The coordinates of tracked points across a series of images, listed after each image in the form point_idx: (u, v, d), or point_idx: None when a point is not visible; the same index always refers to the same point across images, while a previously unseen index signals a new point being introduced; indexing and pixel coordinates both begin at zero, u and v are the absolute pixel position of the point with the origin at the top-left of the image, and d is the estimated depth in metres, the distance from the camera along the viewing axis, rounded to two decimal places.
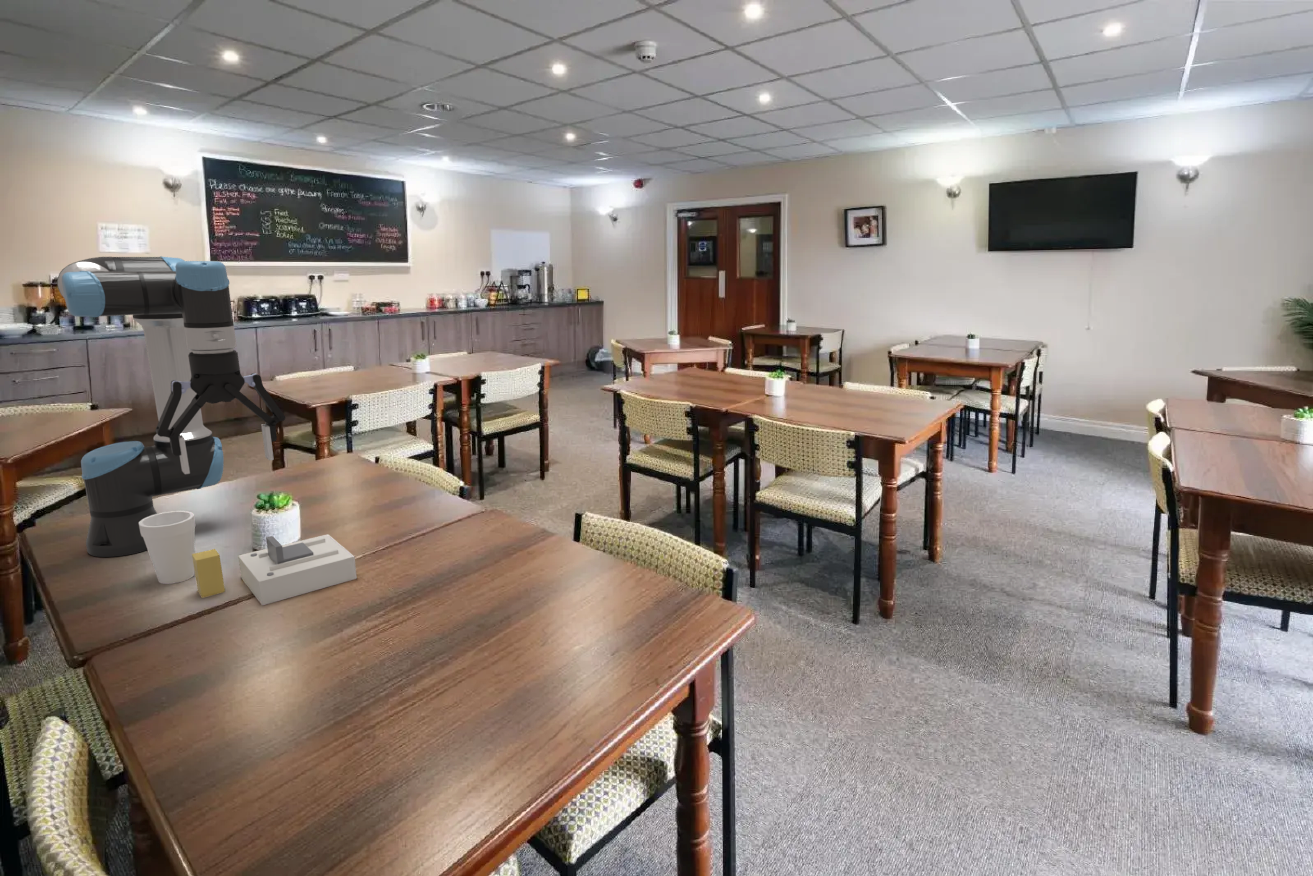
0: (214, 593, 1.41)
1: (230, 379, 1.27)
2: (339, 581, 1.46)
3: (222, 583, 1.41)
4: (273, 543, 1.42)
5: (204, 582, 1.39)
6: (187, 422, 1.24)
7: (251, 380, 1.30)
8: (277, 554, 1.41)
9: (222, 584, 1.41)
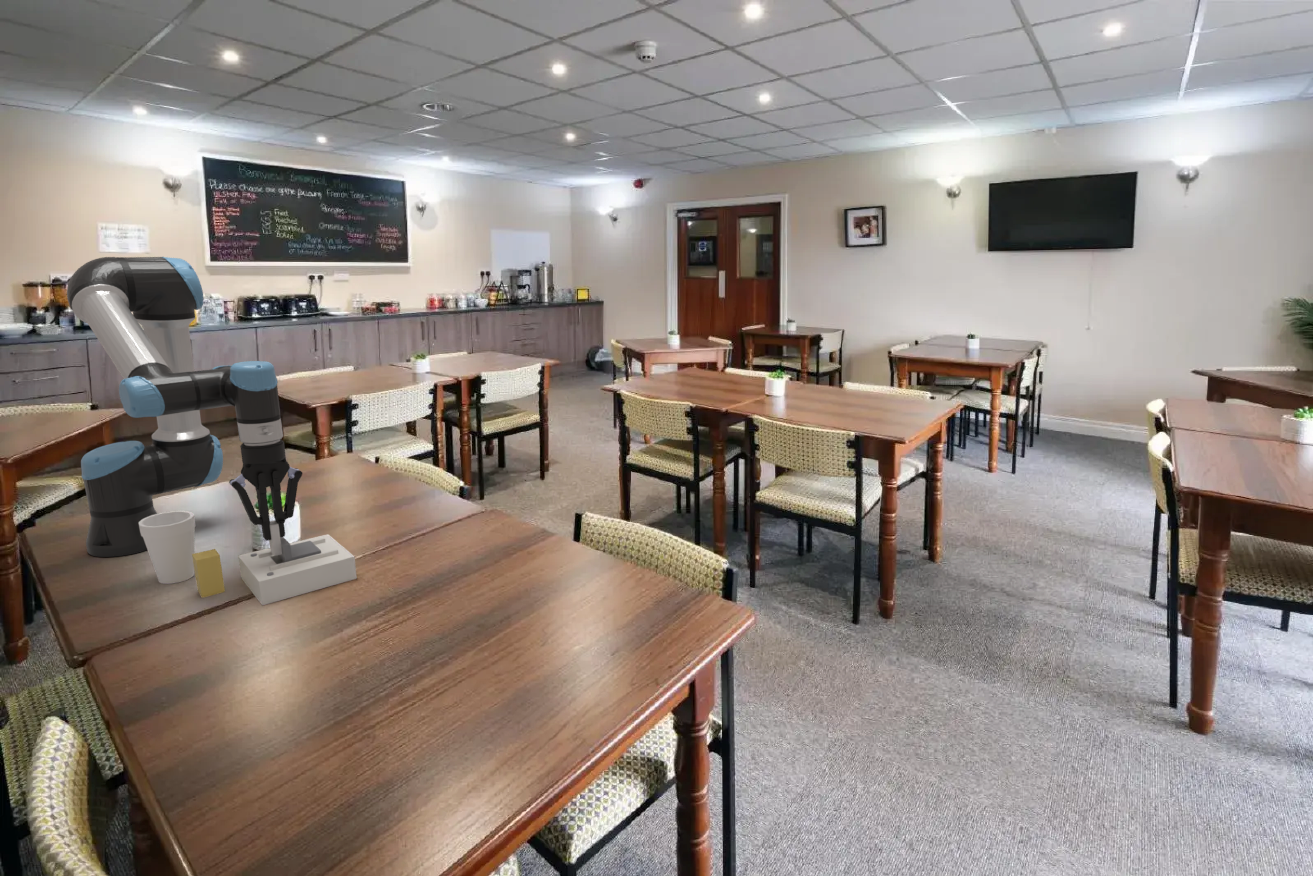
0: (214, 593, 1.41)
1: (280, 462, 1.40)
2: (339, 581, 1.46)
3: (222, 583, 1.41)
4: (281, 541, 1.43)
5: (204, 582, 1.39)
6: (266, 509, 1.40)
7: (293, 473, 1.43)
8: (285, 552, 1.42)
9: (222, 584, 1.41)
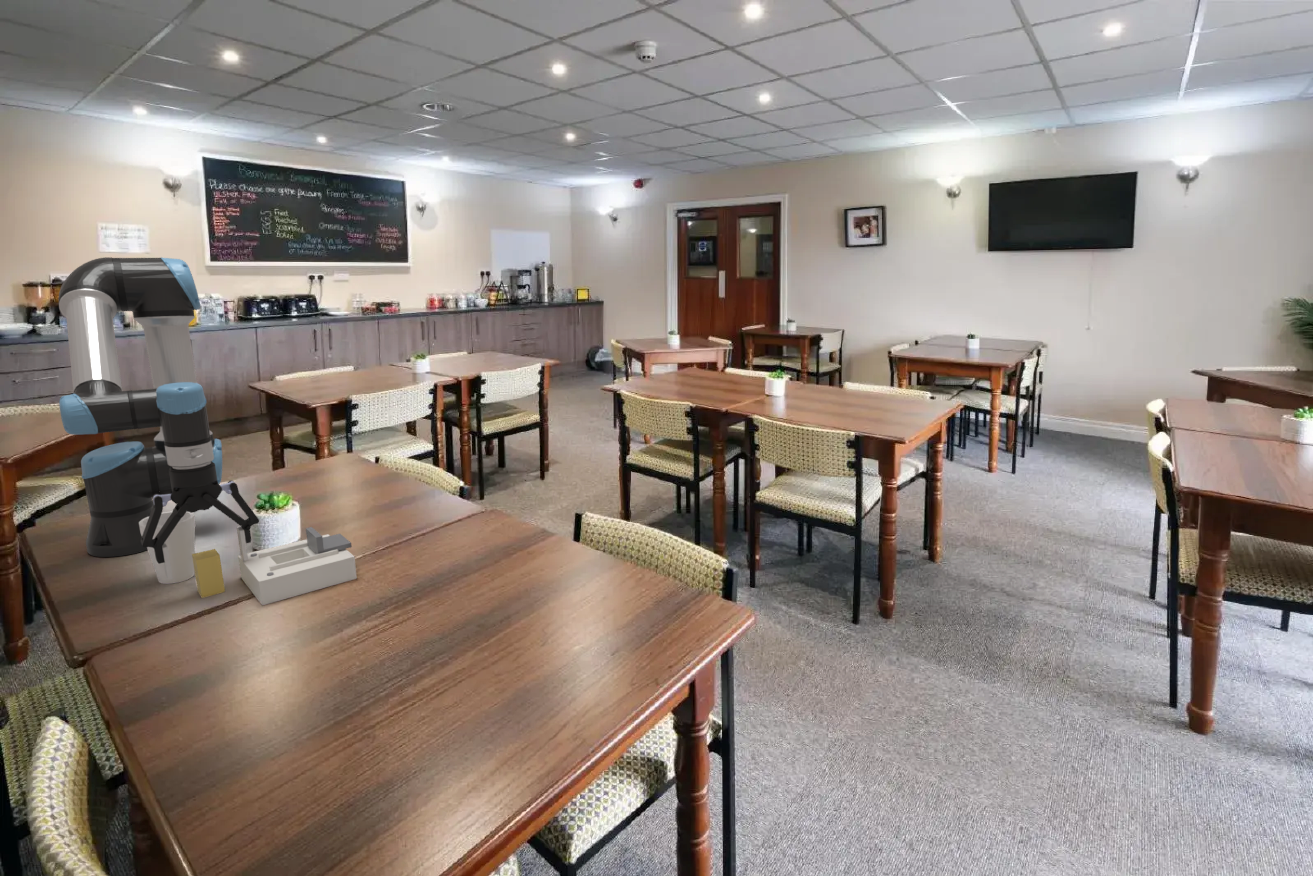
0: (214, 593, 1.41)
1: (208, 489, 1.37)
2: (339, 581, 1.46)
3: (222, 583, 1.41)
4: (313, 534, 1.47)
5: (204, 582, 1.39)
6: (169, 532, 1.34)
7: (228, 488, 1.40)
8: (317, 544, 1.46)
9: (222, 584, 1.41)
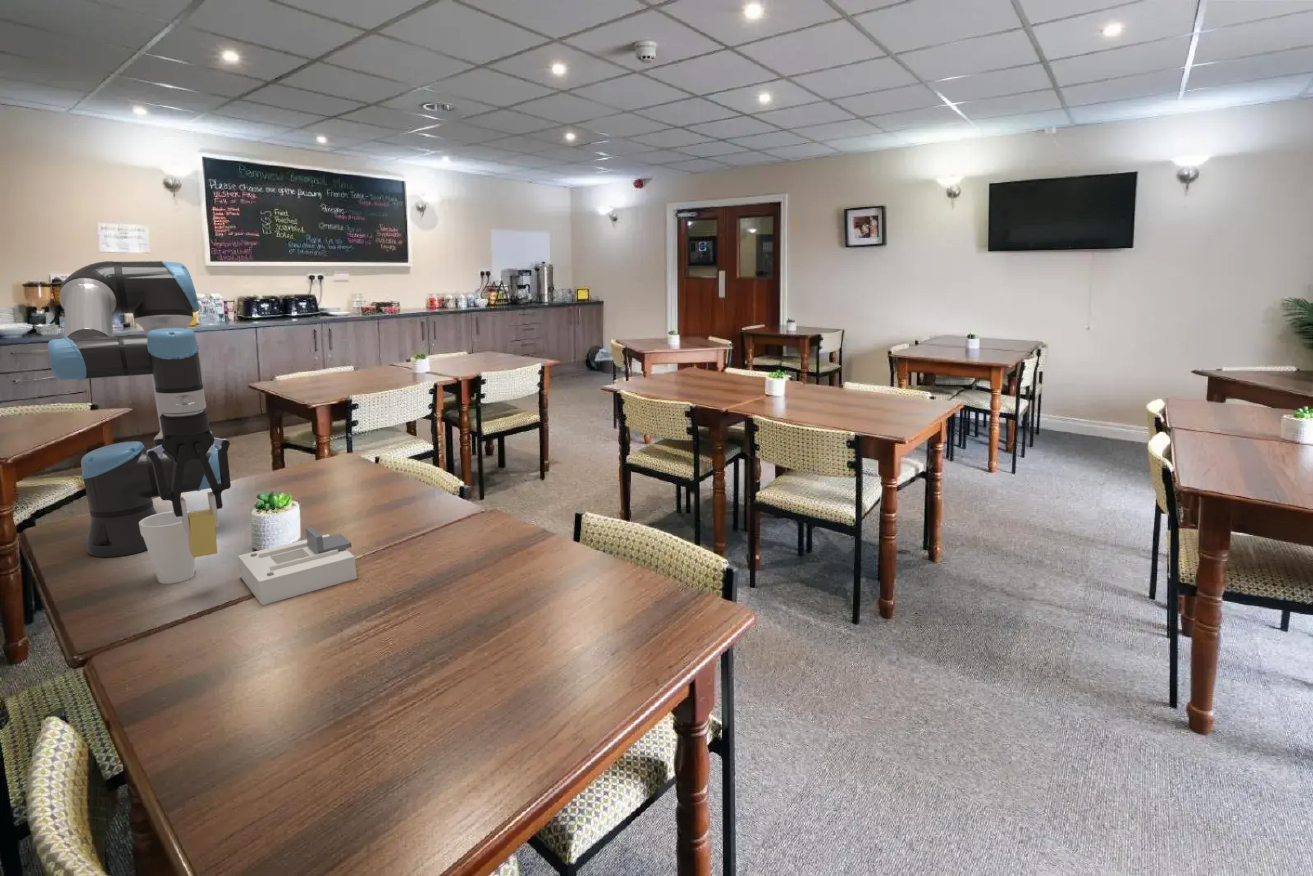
0: (206, 553, 1.38)
1: (202, 435, 1.35)
2: (339, 581, 1.46)
3: (215, 544, 1.39)
4: (313, 534, 1.47)
5: (196, 541, 1.37)
6: (180, 483, 1.34)
7: (219, 443, 1.38)
8: (317, 544, 1.46)
9: (215, 545, 1.39)
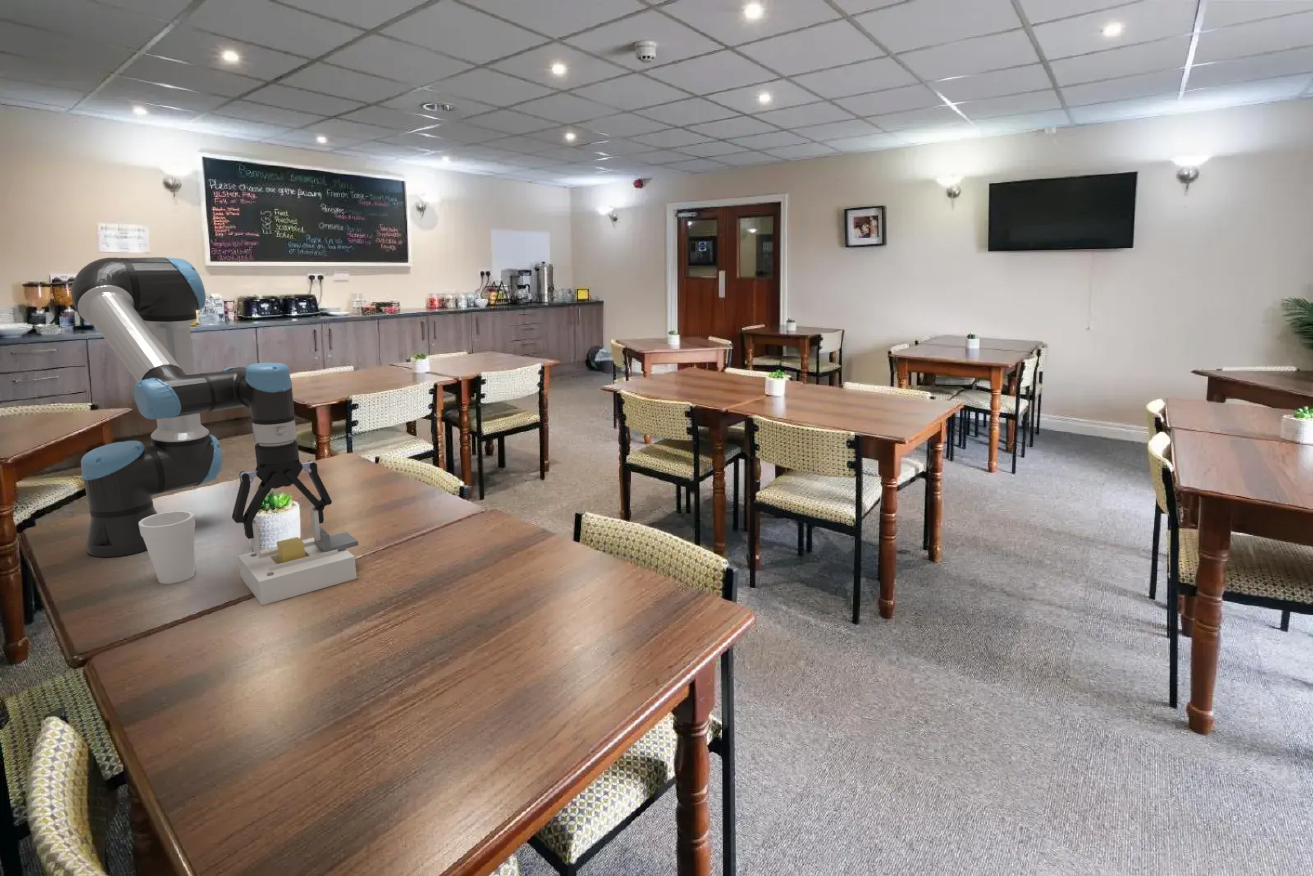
0: None
1: (291, 465, 1.42)
2: (339, 581, 1.46)
3: None
4: (320, 532, 1.48)
5: None
6: (258, 508, 1.39)
7: (308, 467, 1.45)
8: (325, 542, 1.47)
9: None
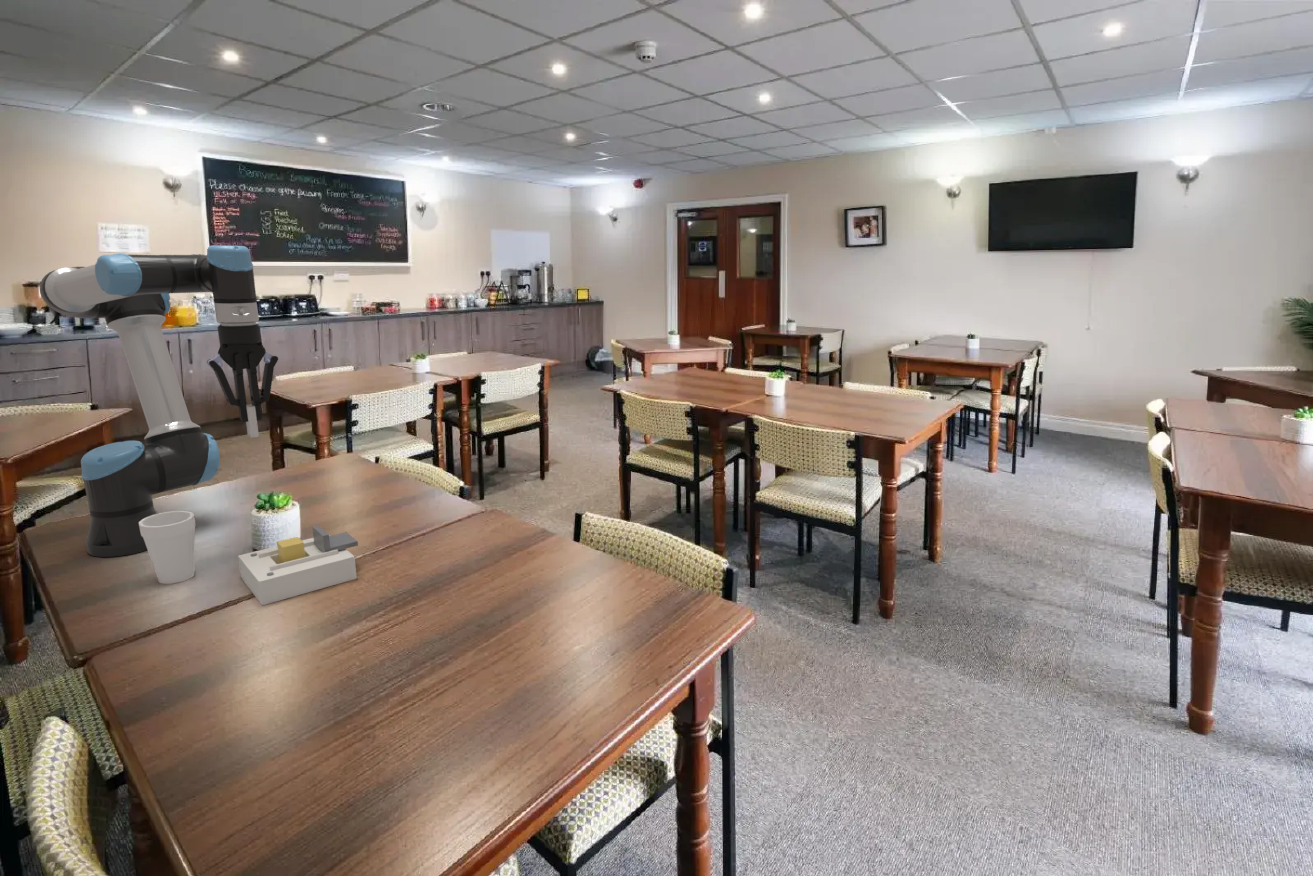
0: None
1: (256, 346, 1.46)
2: (339, 581, 1.46)
3: None
4: (320, 532, 1.48)
5: None
6: (243, 390, 1.46)
7: (269, 357, 1.49)
8: (324, 542, 1.47)
9: None
